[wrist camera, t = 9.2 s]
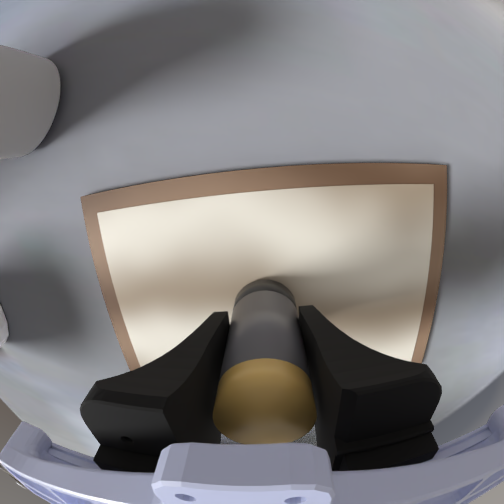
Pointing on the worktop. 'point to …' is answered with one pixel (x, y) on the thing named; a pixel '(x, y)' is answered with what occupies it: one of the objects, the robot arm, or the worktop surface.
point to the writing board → (273, 250)
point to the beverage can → (25, 100)
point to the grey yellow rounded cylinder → (264, 370)
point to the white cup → (3, 328)
